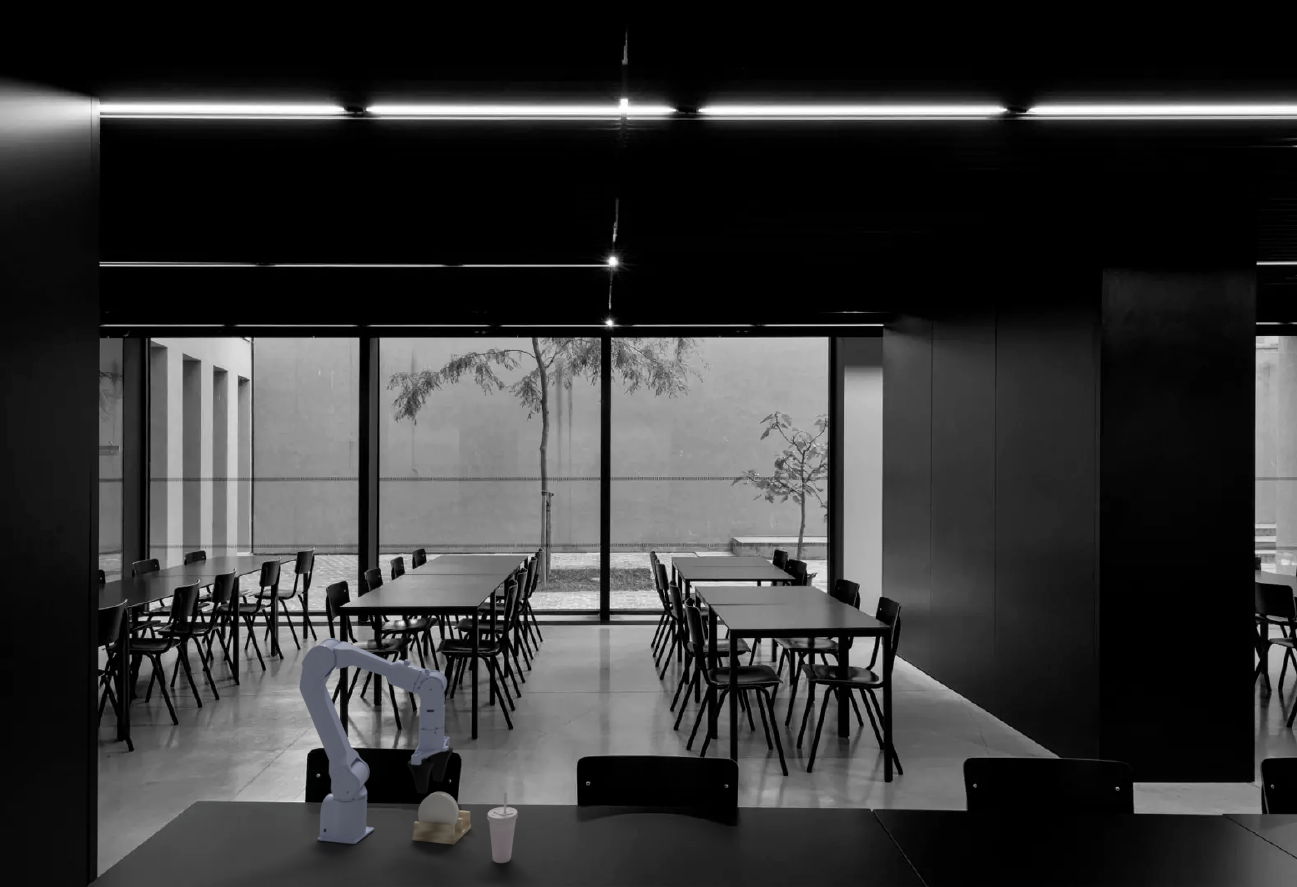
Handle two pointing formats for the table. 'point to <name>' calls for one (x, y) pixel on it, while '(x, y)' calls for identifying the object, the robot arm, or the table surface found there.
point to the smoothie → (502, 831)
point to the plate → (439, 809)
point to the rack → (442, 830)
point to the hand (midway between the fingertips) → (430, 787)
